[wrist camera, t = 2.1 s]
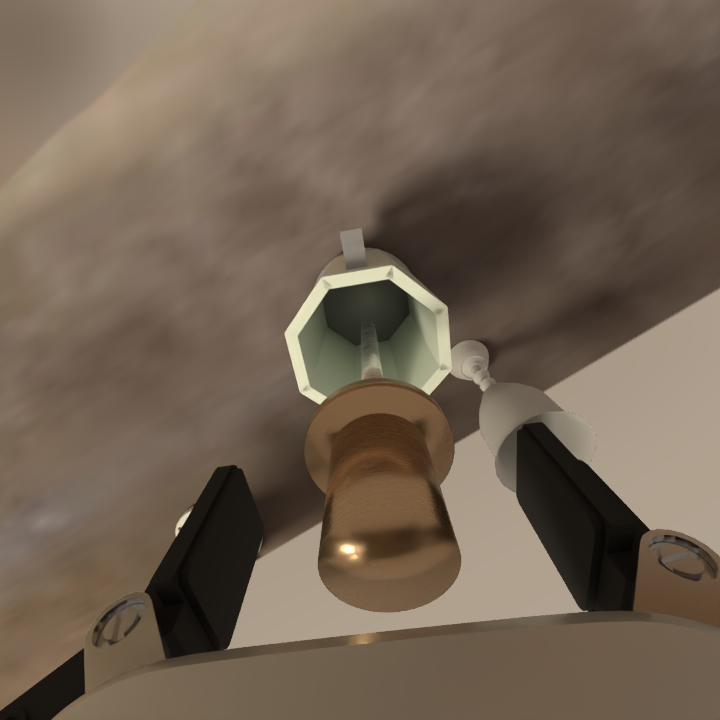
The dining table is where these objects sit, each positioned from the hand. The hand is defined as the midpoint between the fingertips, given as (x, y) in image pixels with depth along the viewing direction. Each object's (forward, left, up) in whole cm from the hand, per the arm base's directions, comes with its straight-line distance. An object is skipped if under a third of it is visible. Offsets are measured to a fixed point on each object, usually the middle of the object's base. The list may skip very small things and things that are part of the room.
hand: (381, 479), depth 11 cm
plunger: (0, 0, -18) cm, 18 cm away
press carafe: (0, 0, -28) cm, 28 cm away
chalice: (-9, -11, -28) cm, 32 cm away
